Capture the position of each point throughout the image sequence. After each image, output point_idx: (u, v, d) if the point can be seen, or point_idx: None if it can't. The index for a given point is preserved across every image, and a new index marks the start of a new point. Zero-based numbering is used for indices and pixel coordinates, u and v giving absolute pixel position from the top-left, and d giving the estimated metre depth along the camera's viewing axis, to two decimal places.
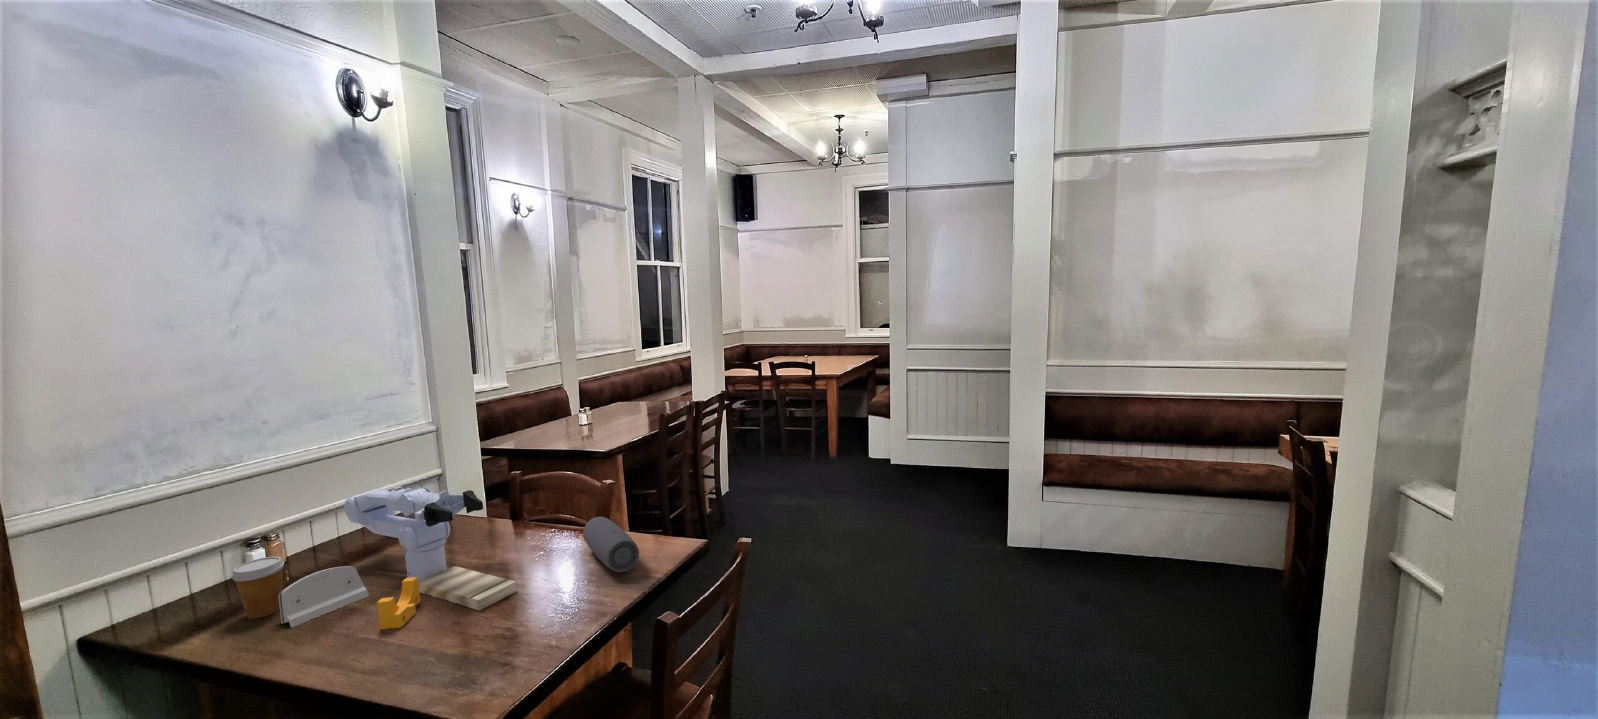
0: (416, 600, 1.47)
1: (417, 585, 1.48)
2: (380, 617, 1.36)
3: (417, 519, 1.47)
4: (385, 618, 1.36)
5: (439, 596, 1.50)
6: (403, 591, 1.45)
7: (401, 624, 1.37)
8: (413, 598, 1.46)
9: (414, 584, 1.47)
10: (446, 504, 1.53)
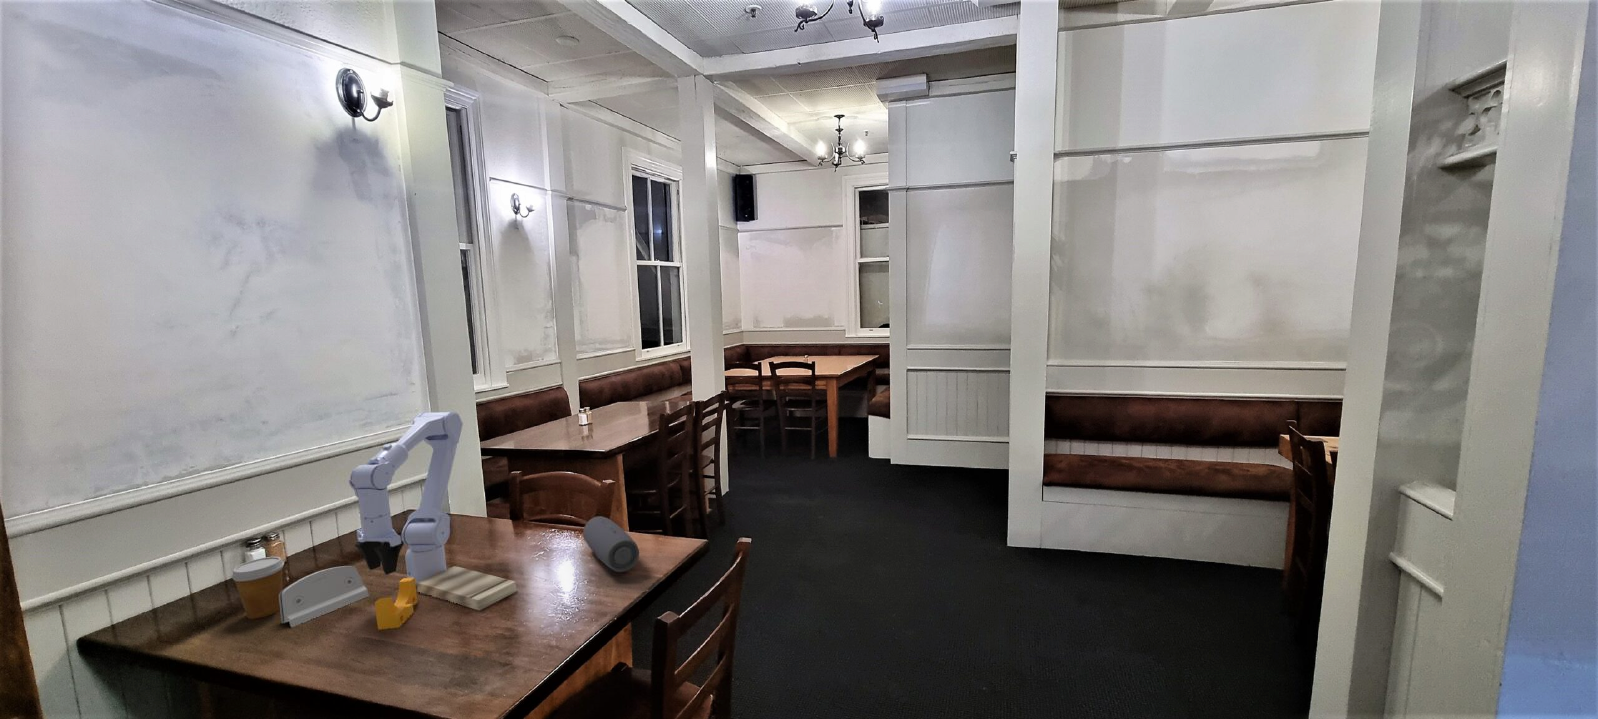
0: (413, 600, 1.47)
1: (414, 585, 1.48)
2: (378, 618, 1.36)
3: None
4: (383, 618, 1.36)
5: (439, 596, 1.50)
6: (400, 591, 1.45)
7: (399, 624, 1.37)
8: (410, 598, 1.46)
9: (411, 584, 1.47)
10: None
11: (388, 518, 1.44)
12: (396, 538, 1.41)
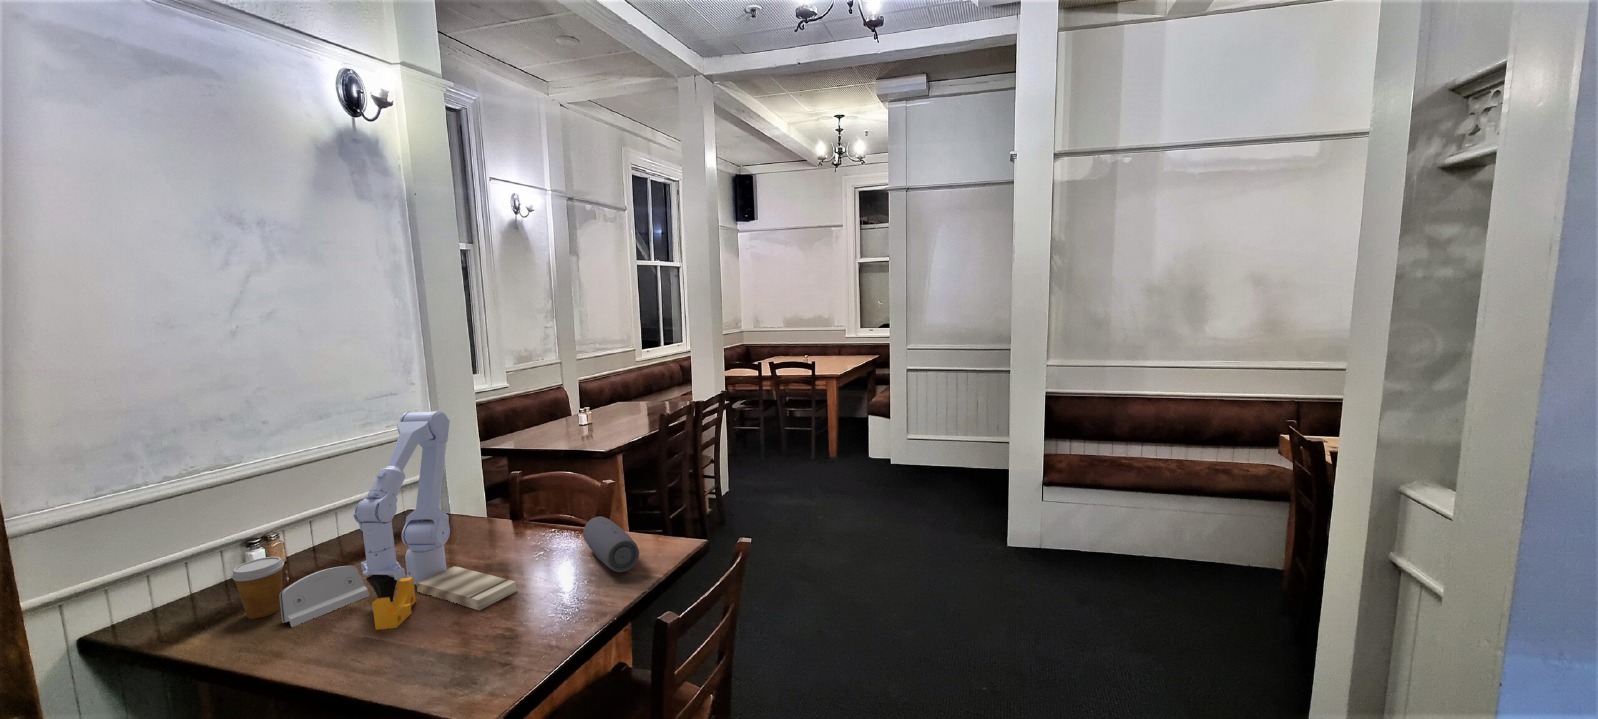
0: (411, 600, 1.47)
1: (412, 585, 1.48)
2: (376, 618, 1.36)
3: None
4: (380, 618, 1.36)
5: (439, 596, 1.50)
6: (398, 591, 1.45)
7: (397, 624, 1.37)
8: (408, 598, 1.46)
9: (410, 584, 1.47)
10: None
11: (392, 551, 1.45)
12: (400, 571, 1.42)
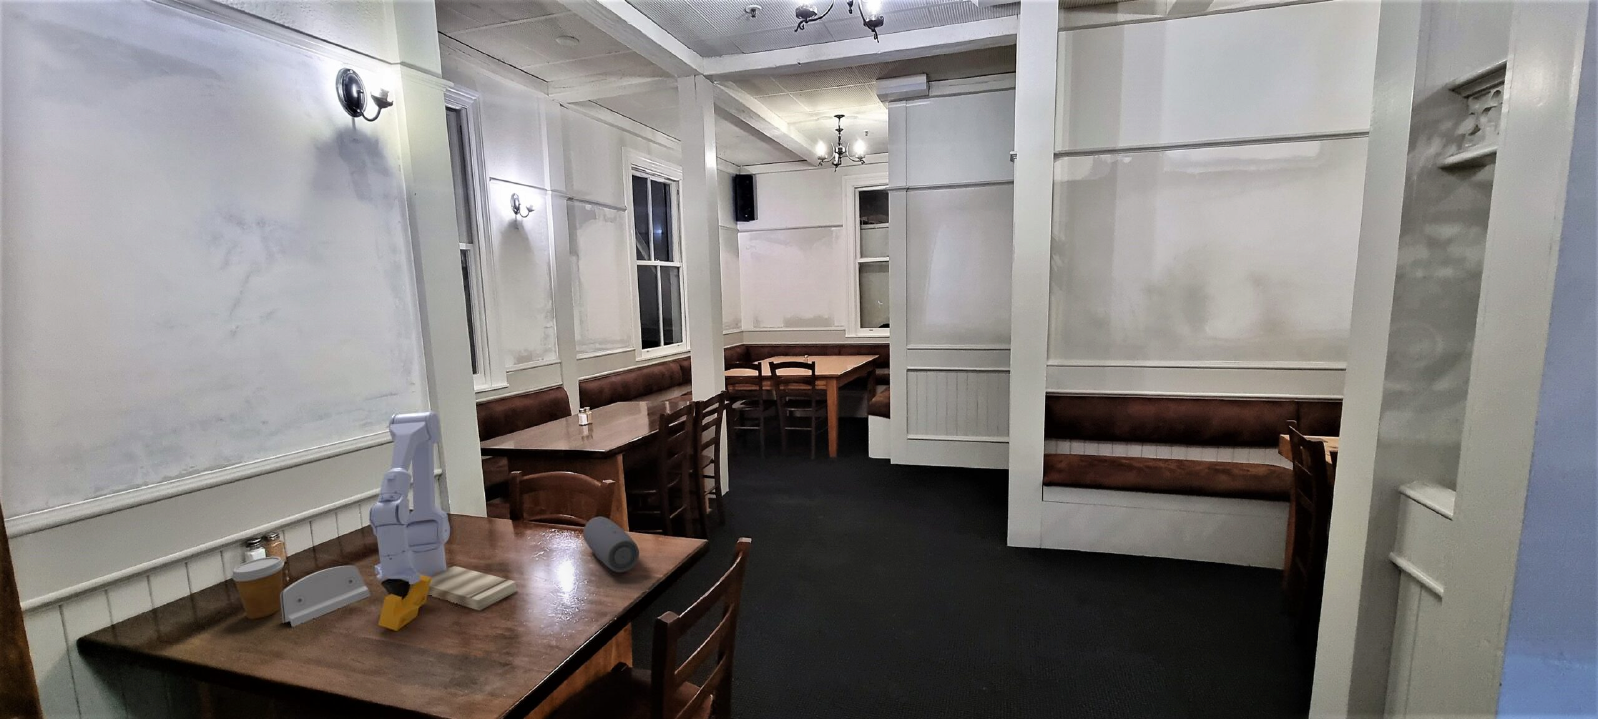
0: (422, 600, 1.46)
1: (428, 586, 1.46)
2: (382, 613, 1.35)
3: None
4: (386, 616, 1.35)
5: (439, 596, 1.50)
6: (413, 588, 1.44)
7: (398, 627, 1.35)
8: (420, 598, 1.44)
9: (426, 584, 1.45)
10: None
11: (407, 554, 1.42)
12: (415, 576, 1.39)
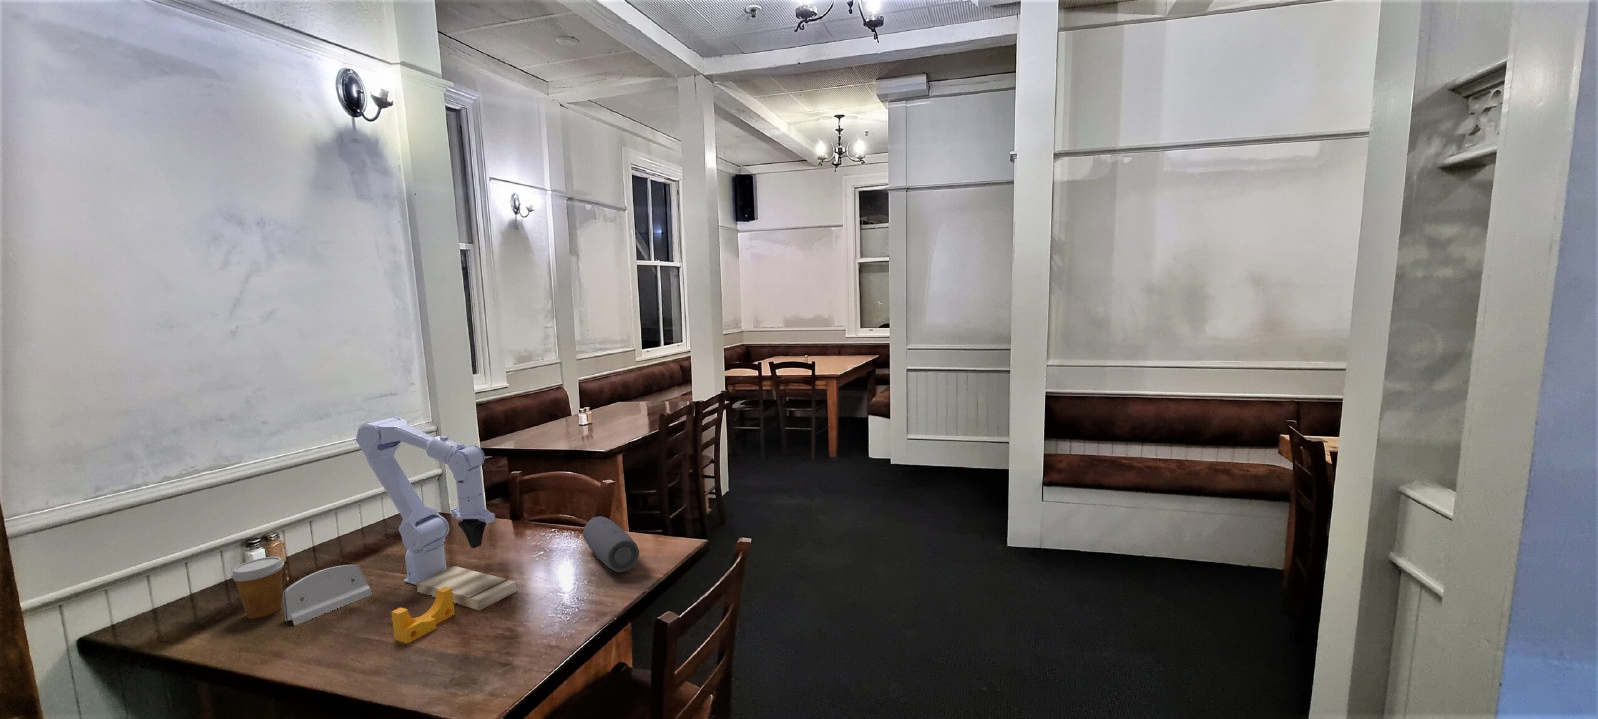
0: (449, 612, 1.41)
1: (450, 597, 1.41)
2: (394, 628, 1.31)
3: None
4: (397, 630, 1.31)
5: None
6: (436, 601, 1.40)
7: (408, 640, 1.30)
8: (442, 611, 1.39)
9: (446, 595, 1.40)
10: None
11: (482, 498, 1.56)
12: (491, 516, 1.53)
